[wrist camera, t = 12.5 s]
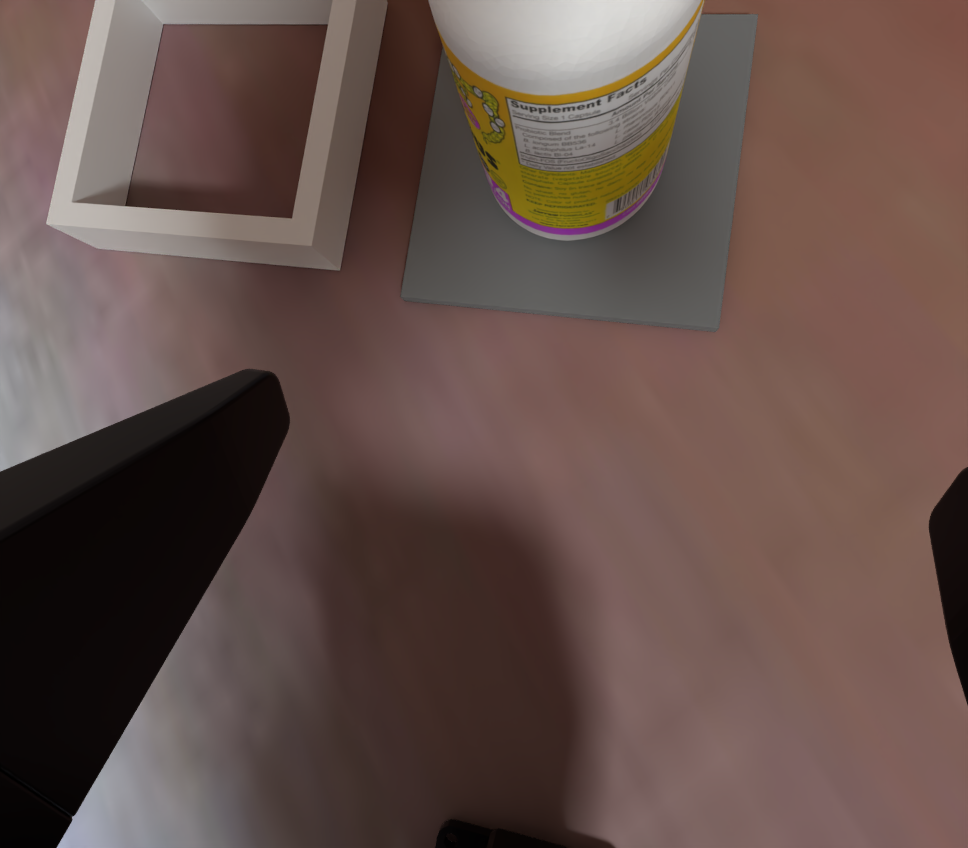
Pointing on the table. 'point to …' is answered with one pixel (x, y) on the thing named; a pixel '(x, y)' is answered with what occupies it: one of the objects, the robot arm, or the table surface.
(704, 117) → the mat
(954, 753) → the table surface
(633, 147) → the supplement bottle
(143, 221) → the holder
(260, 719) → the table surface
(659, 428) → the table surface
